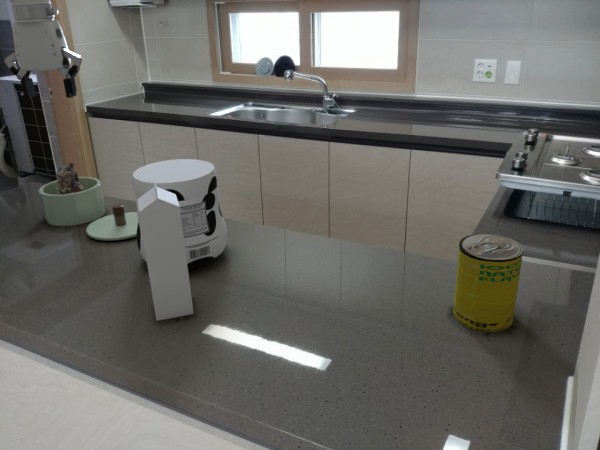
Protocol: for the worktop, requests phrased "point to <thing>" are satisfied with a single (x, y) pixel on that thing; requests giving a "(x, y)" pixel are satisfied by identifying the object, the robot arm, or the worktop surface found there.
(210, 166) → the milk container
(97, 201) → the bowl
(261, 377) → the worktop surface
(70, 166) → the figurine
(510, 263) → the beverage can
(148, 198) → the milk
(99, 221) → the bowl lid
